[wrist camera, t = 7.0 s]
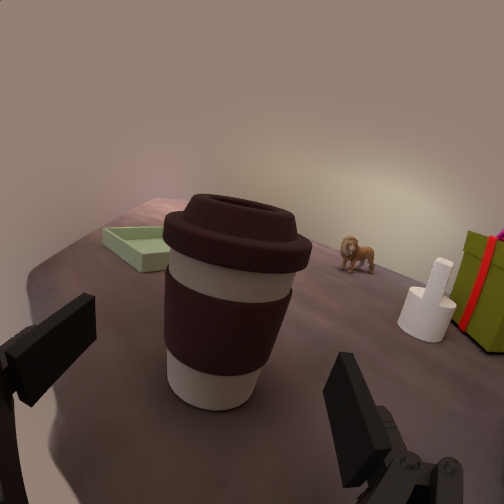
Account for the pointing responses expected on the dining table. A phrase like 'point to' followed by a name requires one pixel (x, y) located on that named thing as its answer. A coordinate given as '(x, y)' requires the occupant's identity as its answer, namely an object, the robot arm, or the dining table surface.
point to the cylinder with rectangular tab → (429, 306)
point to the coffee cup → (226, 295)
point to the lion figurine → (355, 254)
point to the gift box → (481, 291)
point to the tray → (138, 247)
